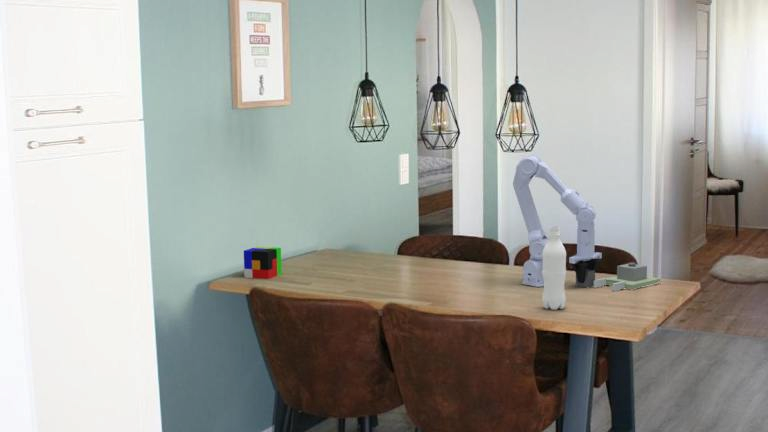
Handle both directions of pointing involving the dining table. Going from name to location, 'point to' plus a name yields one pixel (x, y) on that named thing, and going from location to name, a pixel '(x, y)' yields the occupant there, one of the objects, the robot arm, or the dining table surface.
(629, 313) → the dining table surface
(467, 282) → the dining table surface
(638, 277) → the stepped base plate
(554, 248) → the water bottle
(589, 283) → the grey block
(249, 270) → the puzzle toy
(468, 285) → the dining table surface
